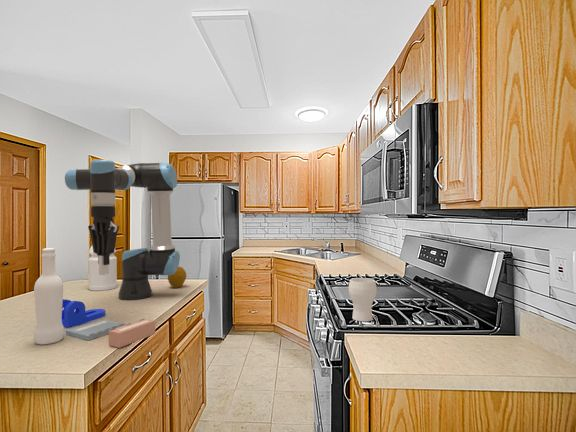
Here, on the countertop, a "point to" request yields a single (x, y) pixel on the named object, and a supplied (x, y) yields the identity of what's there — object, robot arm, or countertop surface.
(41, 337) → the bottle
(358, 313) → the cup
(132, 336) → the stub
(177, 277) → the apple
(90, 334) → the ticket
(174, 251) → the robot arm
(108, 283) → the bottle
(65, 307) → the bracket
